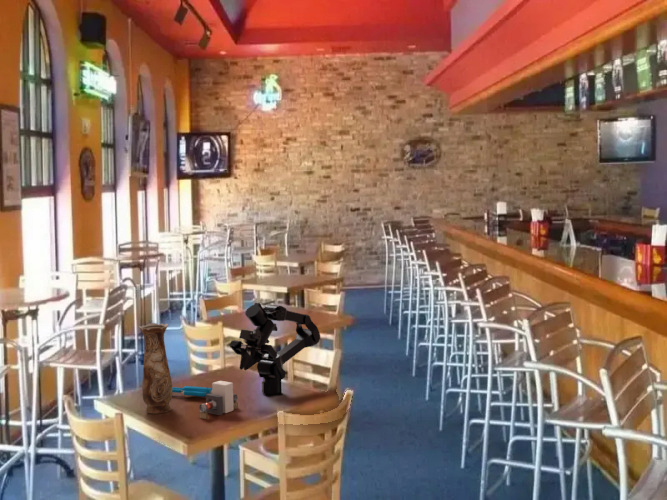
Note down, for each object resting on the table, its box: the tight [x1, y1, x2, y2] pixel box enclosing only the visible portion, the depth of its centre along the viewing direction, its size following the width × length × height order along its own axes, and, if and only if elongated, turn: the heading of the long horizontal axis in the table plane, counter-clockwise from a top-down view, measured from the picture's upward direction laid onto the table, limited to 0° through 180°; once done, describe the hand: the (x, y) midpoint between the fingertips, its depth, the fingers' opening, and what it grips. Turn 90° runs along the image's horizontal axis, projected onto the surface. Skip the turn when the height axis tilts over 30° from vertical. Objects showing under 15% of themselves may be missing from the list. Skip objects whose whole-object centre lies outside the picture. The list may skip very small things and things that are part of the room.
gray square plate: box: [205, 394, 224, 416], centre depth 276 cm, size 2×6×6 cm, turn 55°
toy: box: [172, 385, 212, 398], centre depth 298 cm, size 8×6×30 cm
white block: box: [211, 380, 234, 414], centre depth 279 cm, size 4×6×10 cm, turn 55°
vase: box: [138, 322, 173, 414], centre depth 280 cm, size 10×11×30 cm
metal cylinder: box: [198, 393, 239, 420], centre depth 277 cm, size 16×3×5 cm, turn 145°
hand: (242, 369), depth 287 cm, fingers closed
